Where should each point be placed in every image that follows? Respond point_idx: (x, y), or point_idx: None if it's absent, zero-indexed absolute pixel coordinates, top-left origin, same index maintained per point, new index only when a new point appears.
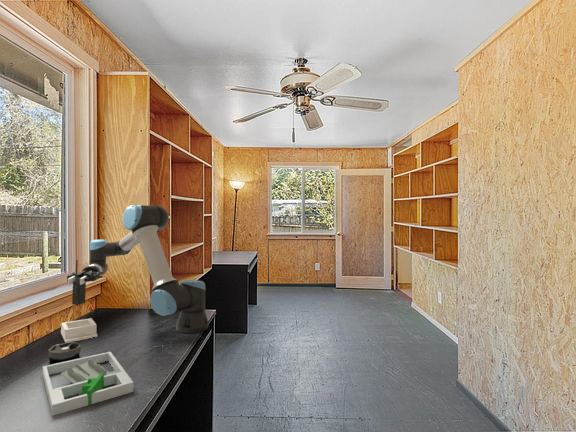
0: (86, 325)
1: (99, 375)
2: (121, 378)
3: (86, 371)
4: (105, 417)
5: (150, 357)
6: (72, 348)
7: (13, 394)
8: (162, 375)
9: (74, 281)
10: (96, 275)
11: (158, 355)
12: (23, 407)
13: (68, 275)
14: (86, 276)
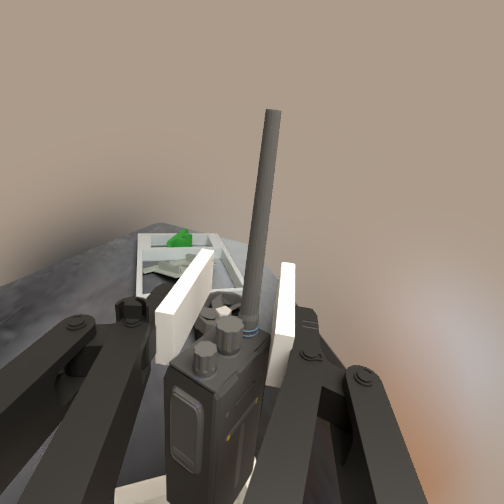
0: (163, 493)
1: (172, 240)
2: (147, 240)
3: (185, 264)
4: (173, 231)
5: (64, 295)
6: (209, 313)
7: (267, 277)
8: (88, 254)
9: (263, 342)
10: (6, 376)
11: (44, 296)
12: (246, 257)
13: (395, 423)
14: (159, 309)
